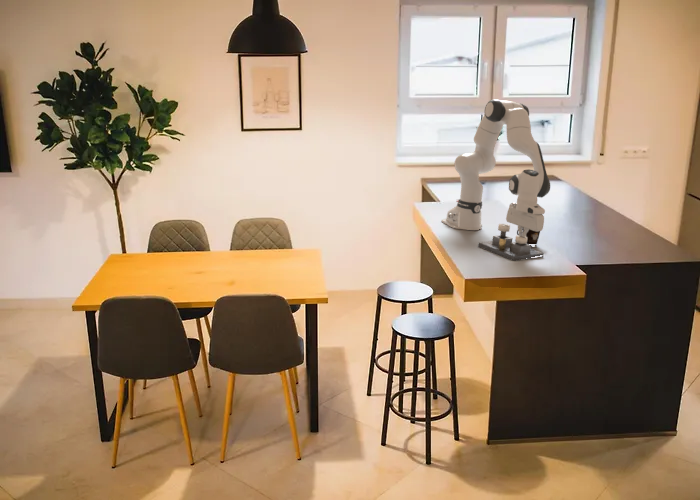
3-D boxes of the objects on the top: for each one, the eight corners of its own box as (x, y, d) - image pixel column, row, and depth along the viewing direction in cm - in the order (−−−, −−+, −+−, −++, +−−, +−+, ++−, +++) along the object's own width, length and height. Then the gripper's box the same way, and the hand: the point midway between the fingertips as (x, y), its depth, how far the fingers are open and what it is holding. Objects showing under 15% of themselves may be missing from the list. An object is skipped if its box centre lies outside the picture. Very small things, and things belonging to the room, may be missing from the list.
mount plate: (478, 246, 340) (479, 235, 338) (506, 243, 349) (508, 232, 348) (513, 260, 320) (515, 248, 319) (542, 257, 329) (544, 245, 328)
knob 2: (511, 248, 330) (513, 235, 328) (520, 247, 332) (522, 234, 331) (519, 251, 326) (521, 238, 324) (528, 250, 328) (530, 237, 327)
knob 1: (494, 236, 339) (496, 223, 337) (503, 235, 342) (504, 222, 340) (502, 239, 335) (504, 226, 333) (510, 238, 337) (512, 225, 336)
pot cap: (497, 248, 332) (498, 237, 330) (501, 247, 333) (503, 237, 332) (501, 249, 330) (502, 239, 328) (506, 249, 331) (507, 239, 330)
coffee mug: (537, 244, 353) (540, 224, 350) (539, 248, 344) (542, 228, 342) (513, 241, 354) (515, 221, 351) (515, 246, 345) (517, 226, 343)
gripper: (505, 202, 330) (501, 231, 334) (537, 211, 314) (533, 242, 317) (515, 201, 334) (511, 230, 337) (547, 211, 317) (543, 241, 321)
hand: (522, 236), depth 327 cm, fingers closed
